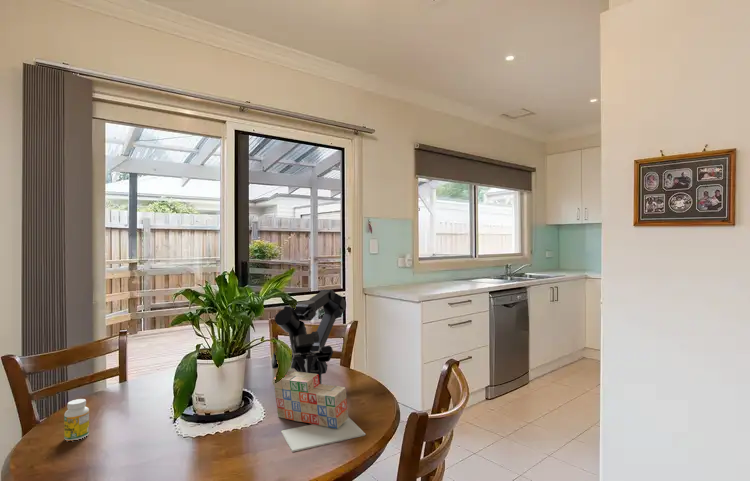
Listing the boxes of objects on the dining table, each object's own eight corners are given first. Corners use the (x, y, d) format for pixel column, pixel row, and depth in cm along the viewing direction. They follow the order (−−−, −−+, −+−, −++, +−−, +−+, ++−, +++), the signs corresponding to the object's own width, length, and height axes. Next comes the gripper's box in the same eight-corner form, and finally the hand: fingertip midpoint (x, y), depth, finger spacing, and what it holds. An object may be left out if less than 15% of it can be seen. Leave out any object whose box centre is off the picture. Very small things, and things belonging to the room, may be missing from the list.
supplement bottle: (93, 434, 110) (94, 399, 110) (73, 443, 104) (74, 406, 105) (79, 431, 111) (79, 396, 111) (58, 440, 106) (59, 404, 106)
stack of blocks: (349, 418, 116) (345, 377, 115) (337, 429, 110) (333, 386, 109) (290, 407, 126) (286, 369, 125) (277, 417, 120) (272, 377, 119)
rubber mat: (281, 432, 110) (281, 430, 110) (348, 418, 119) (348, 417, 119) (292, 452, 100) (292, 450, 100) (365, 435, 108) (365, 433, 108)
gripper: (273, 325, 123) (281, 371, 113) (331, 320, 131) (343, 363, 121) (268, 345, 130) (275, 391, 120) (323, 340, 138) (334, 382, 128)
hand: (307, 381), depth 122 cm, fingers closed
